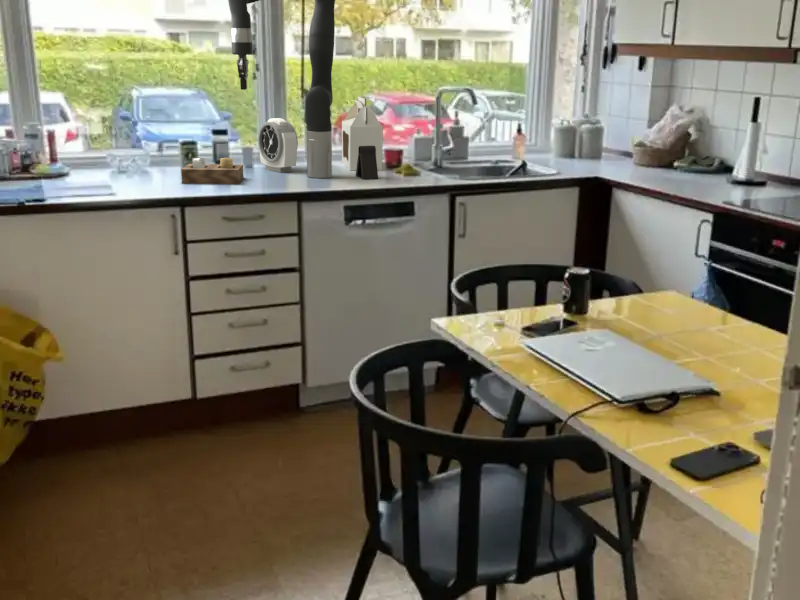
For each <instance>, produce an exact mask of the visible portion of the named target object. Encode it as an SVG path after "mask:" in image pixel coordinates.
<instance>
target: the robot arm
mask: <svg viewBox="0 0 800 600" xmlns="http://www.w3.org/2000/svg"><path fill="white" fill-rule="evenodd" d="M227 1H228V7H229V10H230V12H229V13H230V16H231V17H230V18H231V19H230V20H231V21H230V22H231V34H230V35H231V36H230V37H231V54H232V55H234V56H235V55H236V56H238V59H236V66H237V73H238V79H239V80H240V81H239V82H240V90H247V89H248V81H247V79H248V76H249V63H250V62H249V59H248V58H247V56H250V55H253V54H254V53H253V52H254V51H253V35H252V34H253V33H252V24H251V23H252V19H251V14H250V12H249V11H248V4H249V5H250V4H252V3H256V2H259V1H261V0H227ZM335 3H336V0H314V9H313V14H312V16H311V17H312V18H311V21H310V25H309V26H310V27H309V33H308V35H309V36H308V52H309V60H310V66H311V67H310V68H311V85H310V89H309V90H308V91H307V93H306V95H305V100H304V101H305V102H304V103H305V104H304V107H305V108H304V109H305V112H304V113H305V123H306V152H307V153H306V155H307V156H306V157H307V158H306V159H307V160H306V163H307V165H306V166H307V169H306V171H307V174H306V175H307V177H308V178H314V179H315V178H316V179H325V178H332V177H333V150H332V149H333V145H332V144H333V143H332V141H333V139H332V131H333V129H332V128H333V127H332V121H331V106H332V103H333V101H334V100H333V99H334V98H333V88H332V87H333V86H332V85H333V84H332V80H333V79H332V72H333V63H334V52H335V5H336V4H335Z"/></svg>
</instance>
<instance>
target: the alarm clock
mask: <svg viewBox="0 0 800 600" xmlns="http://www.w3.org/2000/svg"><path fill="white" fill-rule="evenodd" d="M298 143H299V142H298V135H297V132H296V129H295V127H294V126H293V125H292V124H291V123H290V122H289V121H287V120H285V119H284V118H281V117H275V118H273V117H272V118H269V119H268V120H267V121H265V122H264V123H263V124H262V125H261V126H260V127H259V130H258V135H257V144H258V148H259V149H258V150H259V158H260V163H261V164H263V165H265V168H264V169H265V170H266V171H267V170H268V171H272V172H277V173H289V172H292V167H297V160H298V159H297V158H298V157H297V156H298V146H299V145H298Z"/></svg>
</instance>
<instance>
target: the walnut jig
mask: <svg viewBox="0 0 800 600" xmlns="http://www.w3.org/2000/svg"><path fill="white" fill-rule="evenodd" d="M219 161H220V162H219V164H218V163H205V168H193V163H188V164H186V165H185V166H184V167H182V168H181V169H180V170H181V171H180V174H181V184H200V185H201V184H204V185H205V184H208V185H209V184H211V185H213V184H214V185H215V184H216V185H217V184H219V185H220V184H221V185H239V184H240V183H241V182H242V181H243V179H244V177H245V176H244V164H240V163H239V164H234V160H233V158H232V157H223V158H220V159H219Z"/></svg>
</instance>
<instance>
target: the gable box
mask: <svg viewBox="0 0 800 600" xmlns="http://www.w3.org/2000/svg"><path fill="white" fill-rule="evenodd" d="M354 102H355V103H354V104H353V105H352V107H351V109H350V110H349V112H348V113H347V114H346V116H345V118H344V119H343V120H342V121H341V164H343V166H344V167H345V168H346V169H348V170H349V172H350V171H351V172H356V168H357V161H358V148H359V146H375V147H376V161H377V170H378V171H383V149H384V148H383V146H384V145H383V141H384V140H383V139H384V138H383V137H384V136H383V135H384V133H383V131H384V127H383V126H382V124H381V122H380V121H379V119H378V118H377V116H376V114H375V112H374V111H373V110H372V108H371V107H370V106H367V98H365V97H364V96H363V97H362V96H357V98H355V99H354Z"/></svg>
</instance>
